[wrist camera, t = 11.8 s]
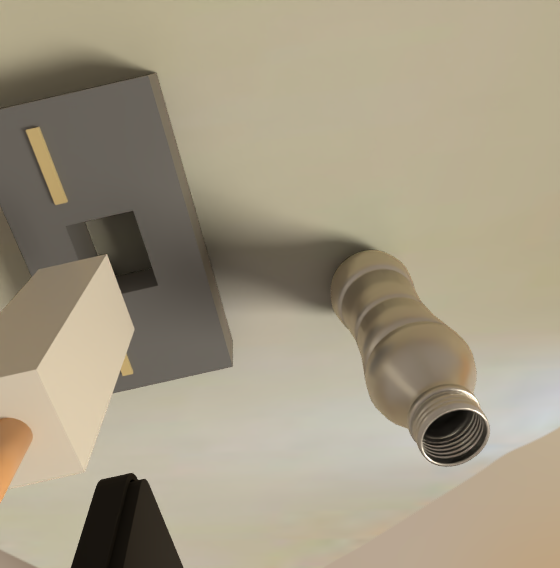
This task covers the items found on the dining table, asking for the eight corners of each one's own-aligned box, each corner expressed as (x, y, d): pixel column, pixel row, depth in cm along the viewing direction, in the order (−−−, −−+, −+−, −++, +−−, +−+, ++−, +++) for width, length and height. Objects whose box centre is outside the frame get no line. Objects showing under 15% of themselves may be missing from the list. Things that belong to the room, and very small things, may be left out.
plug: (38, 269, 30) (-141, 472, 16) (106, 254, 30) (-10, 443, 16) (70, 343, 33) (-62, 584, 18) (134, 329, 32) (54, 558, 18)
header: (-12, 111, 37) (-41, 118, 33) (156, 72, 37) (147, 75, 33) (97, 371, 46) (84, 401, 42) (232, 341, 46) (232, 368, 42)
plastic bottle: (314, 304, 45) (369, 476, 27) (343, 231, 43) (426, 366, 25) (382, 323, 47) (479, 500, 28) (415, 254, 44) (543, 398, 26)
